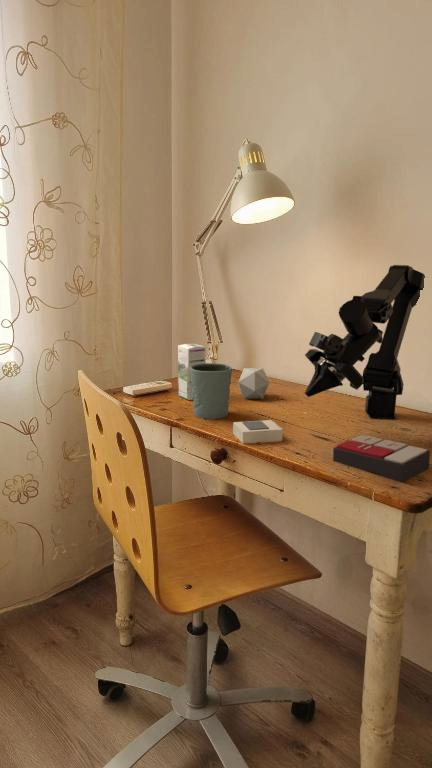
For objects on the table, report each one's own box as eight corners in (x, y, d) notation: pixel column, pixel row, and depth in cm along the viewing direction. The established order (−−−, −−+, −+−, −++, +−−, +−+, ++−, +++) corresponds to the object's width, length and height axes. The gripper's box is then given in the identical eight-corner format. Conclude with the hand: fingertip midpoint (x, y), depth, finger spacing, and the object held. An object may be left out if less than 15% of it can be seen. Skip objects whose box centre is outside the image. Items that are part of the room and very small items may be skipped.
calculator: (361, 432, 121) (431, 447, 111) (361, 452, 122) (429, 468, 112) (332, 444, 114) (404, 461, 103) (331, 465, 115) (402, 483, 104)
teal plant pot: (238, 414, 144) (240, 367, 142) (211, 422, 137) (212, 373, 134) (209, 406, 151) (209, 361, 148) (181, 413, 144) (181, 366, 141)
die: (258, 405, 155) (278, 374, 156) (230, 388, 156) (250, 357, 157) (256, 408, 164) (274, 379, 165) (229, 391, 164) (248, 362, 165)
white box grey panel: (271, 418, 131) (233, 421, 129) (282, 428, 125) (242, 430, 122) (270, 432, 132) (232, 435, 130) (281, 442, 125) (242, 445, 123)
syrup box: (205, 398, 159) (207, 346, 156) (187, 400, 156) (188, 347, 153) (194, 393, 164) (195, 342, 160) (176, 396, 160) (177, 344, 157)
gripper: (315, 314, 135) (268, 362, 134) (354, 325, 117) (301, 380, 117) (343, 346, 138) (298, 393, 138) (385, 362, 121) (334, 415, 121)
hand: (306, 395), depth 128 cm, fingers closed
